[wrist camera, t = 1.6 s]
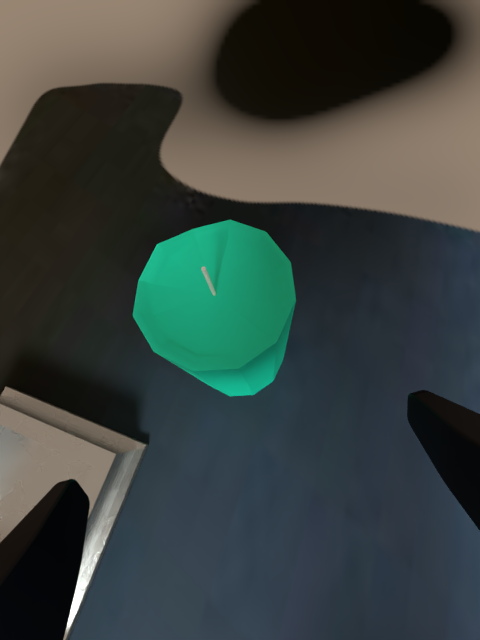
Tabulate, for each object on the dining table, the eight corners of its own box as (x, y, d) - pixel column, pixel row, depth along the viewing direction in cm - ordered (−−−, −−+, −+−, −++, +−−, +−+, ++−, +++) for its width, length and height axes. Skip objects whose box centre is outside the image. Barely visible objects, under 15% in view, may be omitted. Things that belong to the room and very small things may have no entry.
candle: (289, 318, 21) (313, 200, 10) (275, 405, 20) (283, 382, 8) (207, 304, 22) (142, 182, 11) (186, 387, 20) (83, 343, 9)
